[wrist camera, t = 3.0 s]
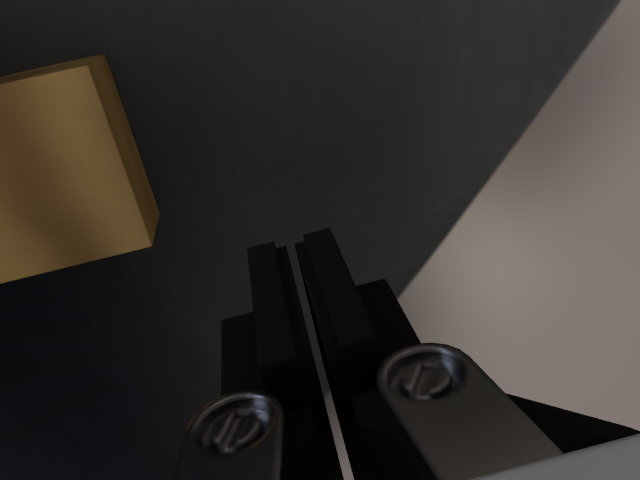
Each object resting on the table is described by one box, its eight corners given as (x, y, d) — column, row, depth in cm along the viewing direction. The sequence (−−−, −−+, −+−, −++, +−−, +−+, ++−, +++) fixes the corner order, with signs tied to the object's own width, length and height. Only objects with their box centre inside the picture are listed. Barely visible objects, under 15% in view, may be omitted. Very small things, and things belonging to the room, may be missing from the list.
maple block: (1, 252, 29) (-29, 291, 25) (-76, 93, 26) (-124, 112, 22) (160, 214, 30) (152, 246, 26) (105, 53, 26) (87, 64, 23)
